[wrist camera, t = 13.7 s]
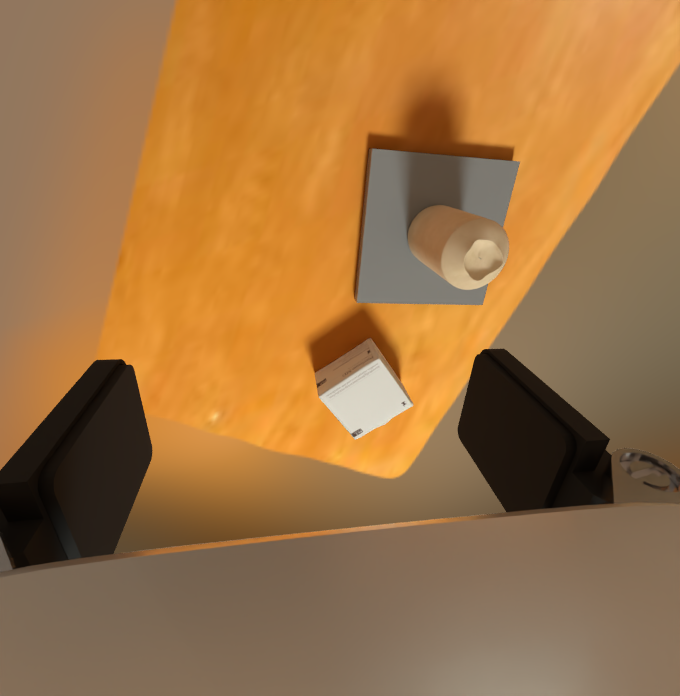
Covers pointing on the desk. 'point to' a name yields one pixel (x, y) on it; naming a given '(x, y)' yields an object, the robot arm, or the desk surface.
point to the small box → (362, 389)
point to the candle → (459, 245)
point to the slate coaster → (402, 207)
